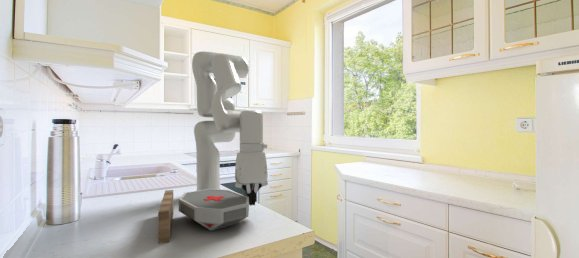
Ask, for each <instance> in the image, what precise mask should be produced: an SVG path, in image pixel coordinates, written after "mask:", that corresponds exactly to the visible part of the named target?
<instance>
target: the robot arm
mask: <svg viewBox="0 0 579 258" xmlns="http://www.w3.org/2000/svg"><path fill="white" fill-rule="evenodd" d="M249 69H250V66H249V63H248V60H247V59H246V58H245V57H243V56H240V55H234V54H228V53H219V52H213V51H205V50H204V51H203V50H202V51H197V52H196V53H195V54H193V57H192V62H191V70H192V74H193V77H194V81H195V86H196V109H197V113H198V116H200V117H203V118H212V119H213V120H201V121H198V122H197V123H196V124H195V125H194V127H193V136H194V140H195V150H196V191H199V190H205V189H220V190H222V189H221V184H220V183H221V177H220V176H221V174H220V173H221V172H220V170H221V169H220V167H221V166H220V165H221V164H220V163H221V162H220V161H221V160H220V158H221V157H220V155H221V154H220V151H219V149H218V148H217V146H216V145H215V144H217V143H218V144H219V143H220V144H221V143H231V142H232V141H234V139H235V138H236V137H235V136H236V133H239V152H237V153H236V158H235V166H234V167H235V172H234V178H235V179H234V180H235V184H234V186H235V188H237V189H243V190H244V191H245V192H246V196H248V197H249V207H250V206H256V203H257V201H258V200H257V199H258V197H257V193H258V192H259V190H260V189H261V188H263V187H266V186H267V185H269V183H268V176H269V175H268V172H269V171H268V164H267V163H268V162H267V156H266V152H265V151H264V150H265V149H268V144H265V143H264V121H263V120H264V115H263V112H262V111H260V110H256V109H255V110H253V109H251V110H250V109H249V110H236V106H235V103H234V100H233V99H232V98H233V97H235V96H236V95H238V94H239V93H240V92H241V89H242V83H241V82H240V79H244V78H246V77H247V75H248V74H249ZM211 74H213V76H212V75H211ZM251 185H252V189H251Z"/></svg>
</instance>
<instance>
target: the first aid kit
mask: <svg viewBox="0 0 579 258" xmlns="http://www.w3.org/2000/svg"><path fill="white" fill-rule="evenodd" d="M220 189H221V188H220ZM220 189H205V190H199V191H197V190H193V191H189V192H184V193H183V194H182V195H180V196H179V198H178V211H179V212H180V213H181V214H183V215H184V216H186V217H187V218H189V219H191V220H192V221H195V222H196V223H198V224H200V225H201V226H202V227H204V228H206V229H207V230H208V231H210V232H211V231H214V230H217V229H222V228H225V227H229V226H233V225H237V224H238V223H240V222H242V221H244V220H245V219H247V218H249V214H250V213H249V211H250V205H249V197H248V196H247V195H244V194H242V193H239V192H236V191H233V190H229V189H221V190H220Z"/></svg>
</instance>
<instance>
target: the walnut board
mask: <svg viewBox="0 0 579 258" xmlns="http://www.w3.org/2000/svg"><path fill="white" fill-rule="evenodd" d="M157 216H158V217H157V218H158V222H157V223H158V225H157V226H158V244H163V243H170V240H171V239H170V238H171V231H172V225H173V220H174V190H173V189H169V190H165V191H164V194H163V197H162V200H161V203H160V206H159V209H158V215H157Z"/></svg>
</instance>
